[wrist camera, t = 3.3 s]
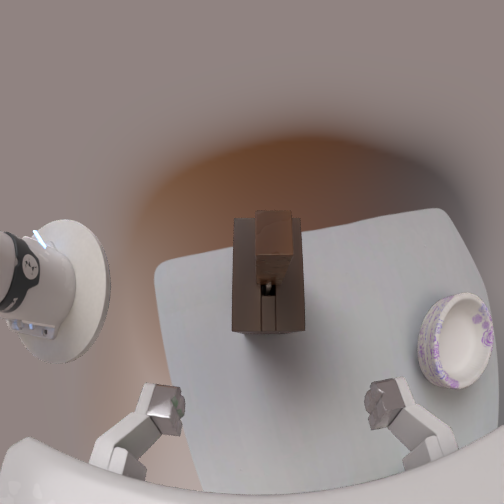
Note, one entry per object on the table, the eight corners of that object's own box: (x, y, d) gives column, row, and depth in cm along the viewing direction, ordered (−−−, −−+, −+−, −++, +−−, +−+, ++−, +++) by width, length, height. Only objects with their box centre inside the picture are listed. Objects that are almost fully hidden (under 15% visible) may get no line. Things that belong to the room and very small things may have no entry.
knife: (274, 275, 31) (291, 206, 15) (274, 301, 30) (294, 259, 14) (256, 275, 31) (255, 206, 15) (256, 301, 30) (255, 259, 14)
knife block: (283, 267, 42) (300, 217, 25) (284, 333, 39) (305, 330, 21) (243, 267, 42) (233, 217, 25) (243, 333, 39) (231, 331, 22)
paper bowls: (477, 340, 36) (504, 337, 29) (433, 401, 34) (459, 408, 26) (441, 282, 40) (468, 271, 32) (391, 343, 37) (416, 342, 30)
